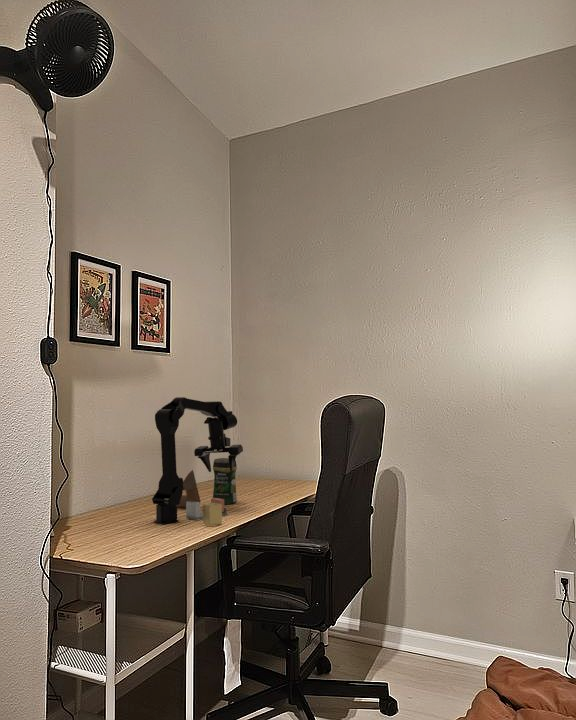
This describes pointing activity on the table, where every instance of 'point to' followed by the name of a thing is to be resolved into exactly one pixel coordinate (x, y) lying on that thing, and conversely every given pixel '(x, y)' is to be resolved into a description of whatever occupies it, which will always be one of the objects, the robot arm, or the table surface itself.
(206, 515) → the block
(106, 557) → the table surface
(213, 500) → the block
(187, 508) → the vise
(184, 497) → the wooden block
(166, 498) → the robot arm
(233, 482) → the coffee jar
